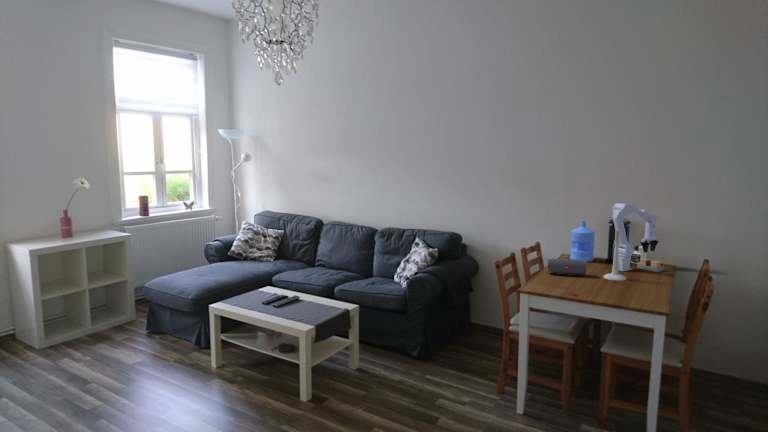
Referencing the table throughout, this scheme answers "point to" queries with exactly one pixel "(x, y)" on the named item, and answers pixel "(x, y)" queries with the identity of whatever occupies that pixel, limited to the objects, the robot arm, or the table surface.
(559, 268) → the bluetooth speaker
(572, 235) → the water jug
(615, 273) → the candlestick
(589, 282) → the table surface
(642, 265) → the grey rimmed tray
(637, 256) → the medicine bottle
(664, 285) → the table surface
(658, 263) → the tan matte cube
